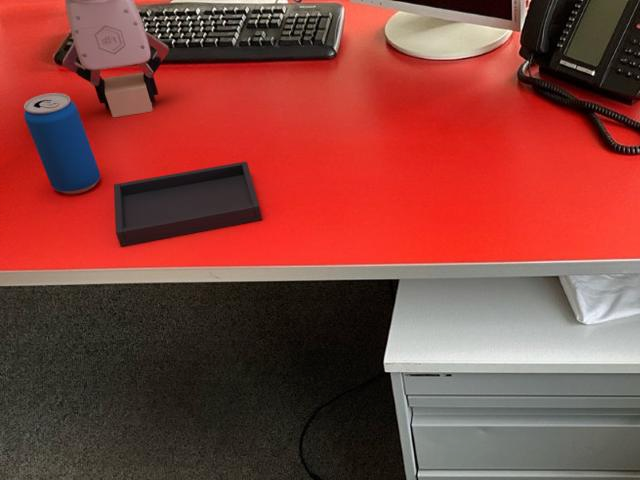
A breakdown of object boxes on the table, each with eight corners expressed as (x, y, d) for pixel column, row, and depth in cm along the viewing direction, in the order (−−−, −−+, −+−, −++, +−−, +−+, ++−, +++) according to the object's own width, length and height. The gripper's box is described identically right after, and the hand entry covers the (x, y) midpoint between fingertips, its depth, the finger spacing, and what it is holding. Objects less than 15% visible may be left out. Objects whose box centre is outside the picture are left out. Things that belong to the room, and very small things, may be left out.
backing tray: (120, 246, 111) (115, 232, 110) (118, 198, 120) (113, 184, 119) (262, 220, 116) (259, 205, 114) (250, 174, 124) (246, 161, 123)
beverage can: (75, 170, 126) (45, 88, 118) (112, 177, 124) (84, 95, 116) (42, 192, 122) (8, 109, 114) (80, 200, 120) (48, 116, 112)
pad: (112, 117, 138) (104, 93, 136) (111, 102, 143) (104, 77, 140) (152, 111, 140) (145, 87, 137) (150, 96, 144) (143, 71, 141)
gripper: (29, 1, 124) (73, 122, 136) (157, -15, 128) (189, 104, 140) (31, -16, 129) (73, 102, 142) (154, -31, 134) (185, 85, 146)
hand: (130, 101), depth 141 cm, fingers closed on pad, 6 cm apart
